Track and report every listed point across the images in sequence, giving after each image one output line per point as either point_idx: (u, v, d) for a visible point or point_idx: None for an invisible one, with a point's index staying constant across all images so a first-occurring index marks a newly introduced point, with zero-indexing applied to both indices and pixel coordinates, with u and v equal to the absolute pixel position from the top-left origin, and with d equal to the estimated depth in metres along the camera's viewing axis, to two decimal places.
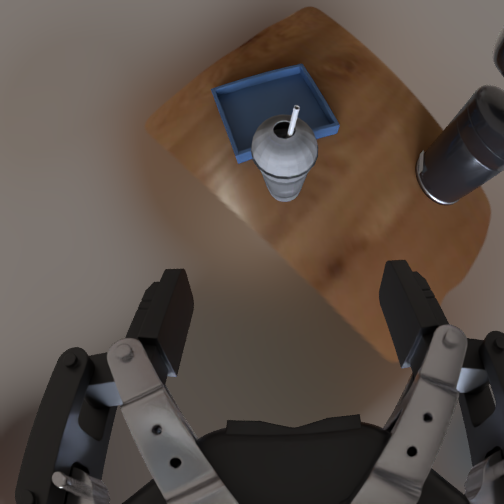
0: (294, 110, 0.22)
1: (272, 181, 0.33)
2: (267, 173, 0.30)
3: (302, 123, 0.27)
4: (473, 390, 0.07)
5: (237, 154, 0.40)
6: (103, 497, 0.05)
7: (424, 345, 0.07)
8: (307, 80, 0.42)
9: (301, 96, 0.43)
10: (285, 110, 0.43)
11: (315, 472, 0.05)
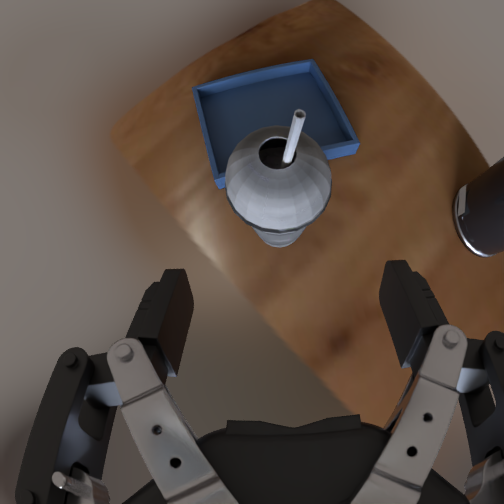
0: (295, 120, 0.11)
1: (257, 229, 0.22)
2: (247, 222, 0.19)
3: (309, 142, 0.16)
4: (473, 390, 0.07)
5: (216, 177, 0.30)
6: (103, 497, 0.05)
7: (424, 345, 0.07)
8: (319, 80, 0.32)
9: (310, 101, 0.33)
10: (287, 119, 0.32)
11: (315, 472, 0.05)
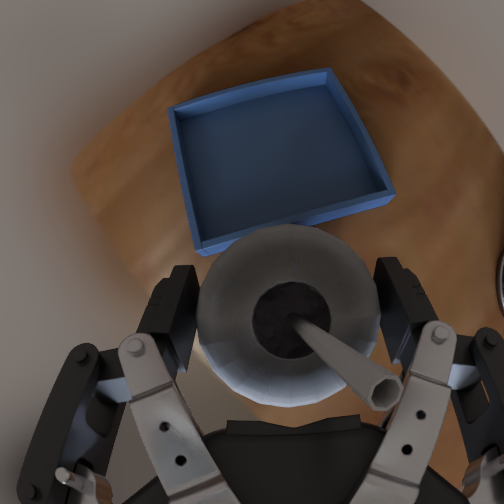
0: (364, 398, 0.03)
1: None
2: None
3: (355, 281, 0.08)
4: (464, 387, 0.07)
5: (198, 247, 0.22)
6: (105, 494, 0.05)
7: (413, 341, 0.08)
8: (339, 98, 0.24)
9: (327, 127, 0.25)
10: (296, 153, 0.24)
11: (315, 472, 0.05)
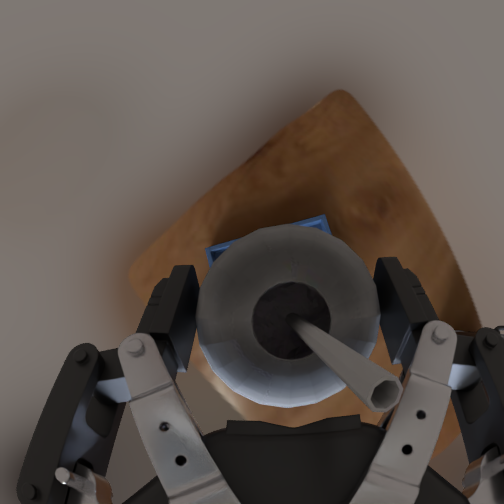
0: (363, 399, 0.03)
1: None
2: None
3: (355, 282, 0.08)
4: (464, 387, 0.07)
5: None
6: (105, 494, 0.05)
7: (413, 341, 0.08)
8: None
9: None
10: None
11: (315, 472, 0.05)
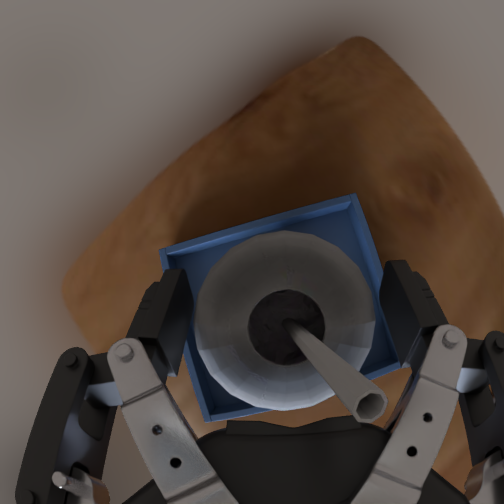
0: (350, 410, 0.03)
1: None
2: None
3: (349, 289, 0.08)
4: (473, 390, 0.07)
5: (207, 420, 0.20)
6: (103, 496, 0.05)
7: (424, 345, 0.07)
8: (362, 239, 0.22)
9: None
10: None
11: (315, 472, 0.05)
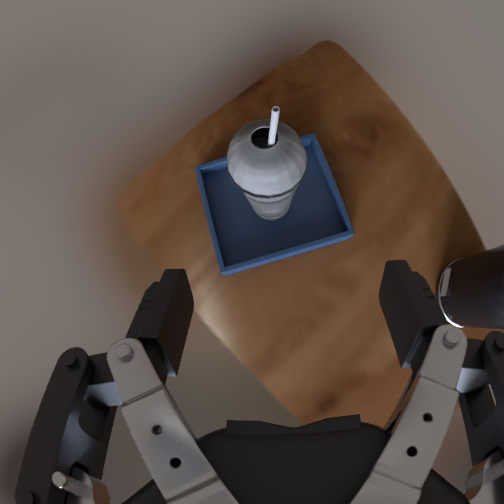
0: (273, 113, 0.17)
1: (252, 199, 0.28)
2: (243, 190, 0.25)
3: (288, 130, 0.22)
4: (473, 390, 0.07)
5: (222, 270, 0.34)
6: (103, 497, 0.05)
7: (424, 345, 0.07)
8: (319, 159, 0.36)
9: (310, 181, 0.37)
10: None
11: (315, 472, 0.05)
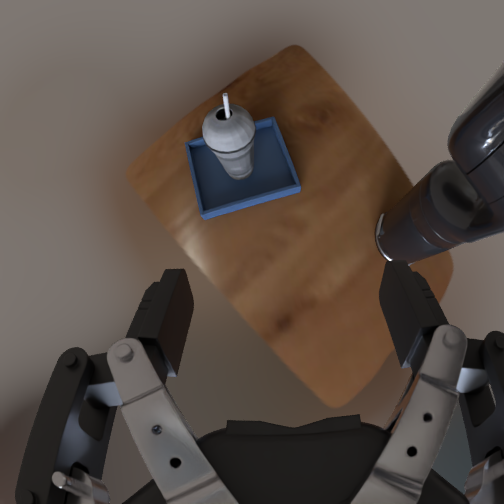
0: (223, 97, 0.29)
1: (220, 158, 0.40)
2: (212, 149, 0.37)
3: (240, 109, 0.34)
4: (473, 390, 0.07)
5: (202, 213, 0.45)
6: (103, 497, 0.05)
7: (424, 345, 0.07)
8: (277, 135, 0.48)
9: (269, 152, 0.49)
10: None
11: (315, 472, 0.05)
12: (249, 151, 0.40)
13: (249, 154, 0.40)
